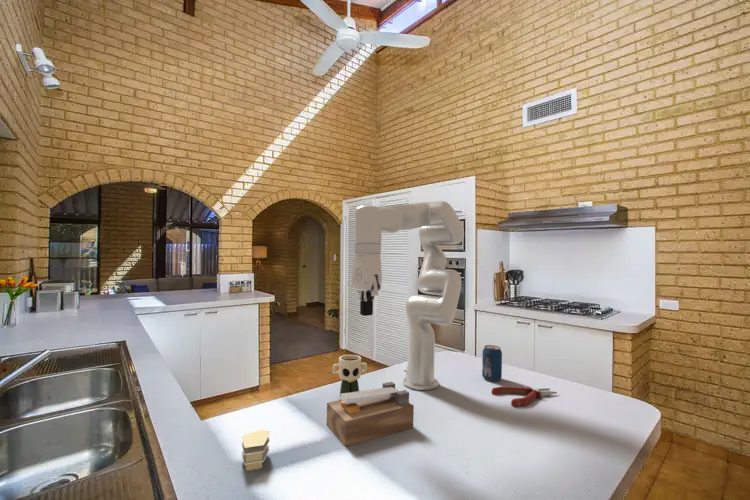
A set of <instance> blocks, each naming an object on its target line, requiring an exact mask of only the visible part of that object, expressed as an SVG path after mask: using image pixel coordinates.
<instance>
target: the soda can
mask: <svg viewBox="0 0 750 500" xmlns="http://www.w3.org/2000/svg"><path fill="white" fill-rule="evenodd" d="M483 347H484V348H483V349H482V358H481V359H482V360H481V362H482V365H481V366H482V367H481V368H482V369H481V375H482V377H483V379H484V380H485V381H487V382H491V383H497V382H498V383H499V382H500V380H501V379H502V376H503V374H502V373H503V371H502V370H503V367H502V366H503V365H502V363H503V352H502V350H501V347H500V346H498V345H492V344H488V345H484V346H483Z"/></svg>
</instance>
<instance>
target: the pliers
mask: <svg viewBox="0 0 750 500" xmlns="http://www.w3.org/2000/svg"><path fill="white" fill-rule="evenodd" d="M491 394H492V395H499V394H500V395H501V394H511V395H520V396H521V395H523V397H517V398H513V399H512V400H511V401H510V405H511V407H513V408H518V407H526V406H529V405H530V404H531V403H532V402H533V401H535V400H536V399H537V400H541V399H542V397H547V396H551V395H555V394H558V392H557V391H553V390H551V388H549V387H548V388H540V387H539V388H532V387H530V386H526V387H520V386H518V387H516V386H498V387H497V386H496V387H493V388H492V389H491Z"/></svg>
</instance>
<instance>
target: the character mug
mask: <svg viewBox="0 0 750 500" xmlns="http://www.w3.org/2000/svg"><path fill="white" fill-rule="evenodd" d="M338 358H339V359H338V363H334V364H333V365H332V374H333V375H338V376H339V378H340V380H342V381H341V384H340V390H339V395H340V394H342V393H350V392H357V391H360V388H359V387H360V386H359V382H358V380H359V379H360V378H361V375H362V374H367V370H368V364H367V362H362V356H360V355H356V354H344V355H341V356H339V357H338ZM337 367H338V370H337ZM362 367H363V369H362Z"/></svg>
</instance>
